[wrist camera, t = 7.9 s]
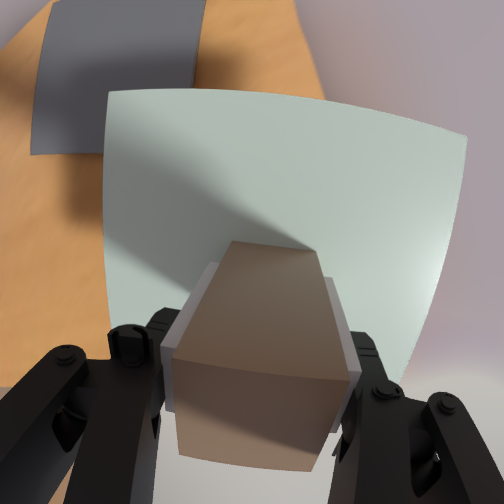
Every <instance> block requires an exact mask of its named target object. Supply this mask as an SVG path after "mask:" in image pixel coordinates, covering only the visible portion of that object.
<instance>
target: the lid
mask: <svg viewBox="0 0 504 504" xmlns="http://www.w3.org/2000/svg"><path fill="white" fill-rule="evenodd" d="M466 146H467V137H466V136H464V135H461V134H458V133H455V132H452V131H449V130H446V129H443V128H440V127H436V126H433V125H430V124H426V123H423V122H420V121H416V120H412V119H409V118H405V117H401V116H397V115H393V114H389V113H385V112H381V111H376V110H372V109H367V108H363V107H358V106H353V105H348V104H343V103H337V102H331V101H325V100H319V99H313V98H306V97H299V96H291V95H283V94H274V93H263V92H252V91H238V90H220V89H141V90H124V91H111V92H109V95H108V104H107V114H106V125H105V139H104V158H103V241H104V259H105V274H106V286H107V296H108V305H109V314H110V322H111V329H113V328H115V327H117V326H120V325H124V324H137V325H141V326H144V327H145V326H146V324H147V323H148V322H149V321H150V319H151V317H152V316H153V315H154V313H155V312H157V311H159V310H160V309H162V308H164V307H167V308H173V309H178V310H181V309H182V307H183V306H184V304H185V302H186V301H187V299H188V297H189V296H190V294H191V292H192V291H193V289H194V287H195V286H196V284H197V282H198V281H199V279H200V278H201V276H202V274H203V273H204V271H205V269H206V268H207V266H208V264H209V263H210V262H217V263H220V264H219V266H218V268H217V270H216V272H215V274H214V276H213V278H212V280H211V282H210V283H209V285H208V287H207V289H206V291H205V293H204V295H203V297H202V299H201V301H200V303H199V305H198V307H197V309H196V310H195V312H194V314H193V316H192V318H191V320H190V322H189V324H188V326H187V328H186V330H185V332H184V334H183V336H182V338H181V340H180V342H179V344H178V346H177V348H176V350H175V352H174V354H173V356H172V358H171V359H172V377H173V393H174V407H175V418H176V429H177V439H178V449H179V454H180V455H183V456H188V457H192V458H197V459H202V460H208V461H213V462H219V463H225V464H231V465H239V466H246V467H254V468H263V469H274V470H286V471H304V472H311V470H312V469H313V466H314V464H315V462H316V460H317V458H318V456H319V454H320V452H321V450H322V447H323V445H324V443H325V441H326V439H327V437H328V434H329V432H330V430H331V428H332V425H333V423H334V421H335V418H336V416H337V414H338V411H339V409H340V406H341V404H342V401H343V399H344V396H345V394H346V391H347V389H348V386H349V383H350V381H351V380H350V376H349V372H348V368H347V364H346V359H345V355H344V351H343V347H342V343H341V339H340V335H339V332H338V328H337V324H336V320H335V316H334V313H333V309H332V305H331V301H330V298H329V294H328V291H327V287H326V283H325V280H324V276H325V277H332V278H333V281H334V284H335V287H336V290H337V293H338V296H339V299H340V302H341V305H342V308H343V311H344V314H345V317H346V320H347V324H348V327H349V330H350V331H357V332H366V333H367V334H368V335H369V336H370V337H371V338H372V339H373V341H374V343H375V346H376V348H377V349H376V350H377V351H378V353H379V357H380V358H381V361H382V364H383V366H384V369H385V371H386V374H387V377H388V380H391V381H393V382H394V383H396V384H399V382H400V380H401V378H402V375H403V373H404V371H405V369H406V366H407V364H408V362H409V359H410V357H411V355H412V352H413V350H414V348H415V345H416V343H417V340H418V337H419V335H420V332H421V330H422V327H423V325H424V322H425V319H426V316H427V313H428V311H429V308H430V305H431V302H432V299H433V296H434V293H435V289H436V286H437V283H438V280H439V277H440V274H441V270H442V267H443V263H444V259H445V256H446V252H447V248H448V244H449V241H450V236H451V232H452V228H453V223H454V219H455V214H456V210H457V205H458V199H459V193H460V188H461V183H462V176H463V170H464V163H465V154H466Z"/></svg>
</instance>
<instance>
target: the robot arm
mask: <svg viewBox="0 0 504 504" xmlns="http://www.w3.org/2000/svg"><path fill="white" fill-rule="evenodd" d="M219 264H220V263H217V262H210V263H209V264H208V266H207V268H206V269H205V271H204V273H203V274H202V276H201V278H200V279H199V281H198V282H197V284H196V286H195V287H194V289H193V291H192V292H191V294H190V296H189V297H188V299H187V301H186V302H185V304H184V306H183V307H182V309H181V310H178V309H173V308H167V307H164V308H162V309H160V310H159V311H157V312H155V313H154V315H153V316H152V317H151V319H150V321H149V322H148V323H147V324H146V326H145V327H144V326H141V325H137V324H124V325H120V326H117V327H115V328H113V329H111V330H110V332H109V333H108V334H107V336H108V342H109V348H110V354H111V359H109V360H96V359H87V358H86V354H85V352H84V351H83V349H81V348H80V347H78V346H75V345H61V346H58V347H55V348H53V349H52V350H50V351H49V352H48V353H47V354H46V355H45V356H44V357H43V358H42V359H41V360H40V361H39V362H38V363H37V364H36V365H35V366H34V367H33V368H32V369H31V370H30V371H29V372H28V373H27V374H26V375H25V376H24V377H23V378H22V379H21V380H20V381H19V382H18V383H17V384H16V385H15V386H14V387H13V388H12V389H11V390H10V391H9V392H8V393H7V394H6V395H5V396H4V397H3V398H2V399H1V400H0V504H48V503H49V501H50V499H51V498H52V496H53V495H54V493H55V491H56V490H57V488H58V486H59V485H60V483H61V482H62V480H63V479H64V477H65V475H66V474H67V472H68V471H69V469H70V467H71V466H72V464H73V463H74V466H73V469H72V473H71V476H70V480H69V483H68V487H67V491H66V494H65V498H64V502H63V504H152V501H153V490H154V479H155V469H156V459H157V450H158V440H159V433H160V425H161V415H160V410H161V407H162V405H163V403H164V401H165V409H166V411H169V412H173V413H175V407H174V393H173V377H172V359H171V358H172V356H173V354H174V352H175V350H176V348H177V346H178V344H179V342H180V340H181V338H182V336H183V334H184V332H185V330H186V328H187V326H188V324H189V322H190V320H191V318H192V316H193V314H194V312H195V310H196V309H197V307H198V305H199V303H200V301H201V299H202V297H203V295H204V293H205V291H206V289H207V287H208V285H209V283H210V282H211V280H212V278H213V276H214V274H215V272H216V270H217V268H218V266H219ZM324 280H325V283H326V287H327V291H328V294H329V298H330V301H331V305H332V309H333V313H334V316H335V320H336V324H337V328H338V332H339V335H340V339H341V343H342V347H343V351H344V355H345V359H346V364H347V368H348V372H349V376H350V380H351V381H350V383H349V386H348V389H347V391H346V394H345V396H344V399H343V401H342V404H341V406H340V409H339V411H338V414H337V416H336V418H335V421H334V423H333V425H332V428H331V430H330V432H329V433H336V432H337V430H338V428H339V426H340V424H341V425H342V431H343V433H342V435H341V437H340V439H339V441H338V443H337V445H336V447H335V449H334V451H333V454H332V456H335V455H336V460H335V466H334V472H333V478H332V483H331V489H330V494H329V499H328V504H504V480H503V478H502V476H501V474H500V472H499V470H498V468H497V466H496V464H495V462H494V460H493V458H492V456H491V454H490V452H489V450H488V448H487V446H486V444H485V442H484V441H483V439H482V437H481V435H480V433H479V431H478V429H477V427H476V426H475V424H474V422H473V420H472V418H471V417H470V415H469V413H468V412H467V410H466V408H465V406H464V405H463V403H462V402H461V401H460V400H459V398H457V397H456V396H454V395H452V394H449V393H447V392H437V393H434V394H432V395H431V396H430V397H429V399H428V401H427V402H424V401H419V400H414V399H410V398H407V397H405V395H404V392H403V390H402V388H401V387H400V386H399V385H398V384H396V383H394V382H393V381H391V380H388V377H387V374H386V371H385V369H384V366H383V364H382V361H381V358H380V357H379V353H378V351H377V350H376V349H377V348H376V346H375V343H374V341H373V339H372V338H371V337H370V336H369V335H368V334H367V333H366V332H357V331H350V330H349V327H348V324H347V320H346V317H345V314H344V311H343V308H342V305H341V302H340V299H339V296H338V293H337V290H336V287H335V284H334V281H333V278H332V277H325V276H324ZM436 453H437V454H438V457H439V459H440V460H439V459H438V457H437V455H436ZM74 461H75V462H74Z"/></svg>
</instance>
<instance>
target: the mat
mask: <svg viewBox="0 0 504 504" xmlns="http://www.w3.org/2000/svg"><path fill="white" fill-rule="evenodd" d="M205 4H206V0H60V1H57V2H55V3H53V5H52V9H51V13H50V16H49V20H48V24H47V28H46V33H45V37H44V42H43V46H42V51H41V57H40V62H39V68H38V74H37V81H36V89H35V97H34V106H33V117H32V131H31V155H41V154H73V153H104V139H105V125H106V114H107V104H108V95H109V92H111V91H124V90H141V89H193V85H194V77H195V69H196V61H197V54H198V47H199V40H200V34H201V28H202V21H203V15H204V9H205Z"/></svg>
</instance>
